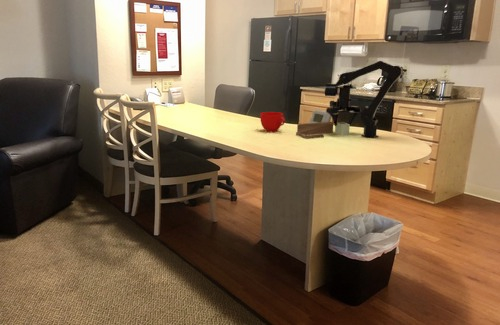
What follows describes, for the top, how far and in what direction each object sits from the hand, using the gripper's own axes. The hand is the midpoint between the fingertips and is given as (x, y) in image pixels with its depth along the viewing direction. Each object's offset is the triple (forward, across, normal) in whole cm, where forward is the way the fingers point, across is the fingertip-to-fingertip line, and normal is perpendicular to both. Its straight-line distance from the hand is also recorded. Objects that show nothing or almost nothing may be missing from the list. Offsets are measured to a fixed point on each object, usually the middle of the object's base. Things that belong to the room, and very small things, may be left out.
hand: (342, 125), depth 213 cm
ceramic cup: (+5, +31, -22) cm, 38 cm away
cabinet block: (+5, 0, 0) cm, 5 cm away
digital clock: (+5, +2, -19) cm, 20 cm away
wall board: (+5, +13, -2) cm, 14 cm away
